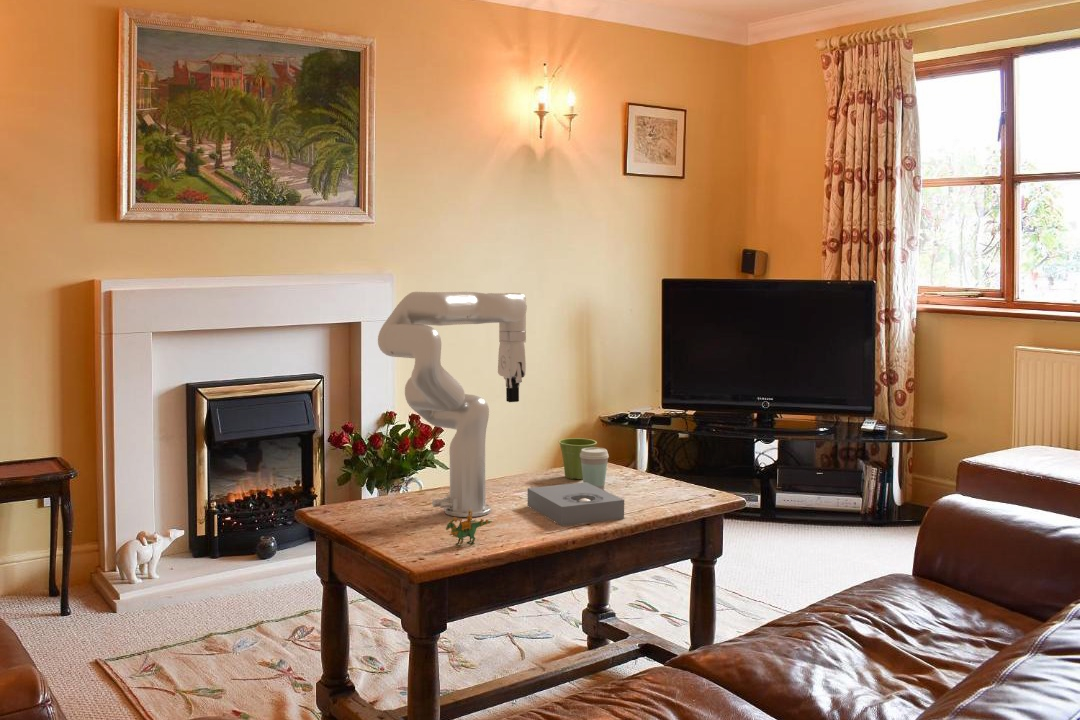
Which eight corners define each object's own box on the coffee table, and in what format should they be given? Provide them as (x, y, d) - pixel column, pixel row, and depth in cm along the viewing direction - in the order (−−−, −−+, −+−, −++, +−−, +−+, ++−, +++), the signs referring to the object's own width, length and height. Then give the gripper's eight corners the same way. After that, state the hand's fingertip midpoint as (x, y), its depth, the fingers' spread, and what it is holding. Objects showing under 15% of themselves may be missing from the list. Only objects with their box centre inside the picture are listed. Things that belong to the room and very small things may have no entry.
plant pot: (585, 483, 303) (585, 446, 302) (551, 478, 309) (551, 442, 308) (603, 475, 314) (603, 440, 312) (569, 471, 319) (569, 436, 318)
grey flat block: (561, 526, 256) (561, 506, 256) (527, 506, 276) (527, 488, 276) (624, 518, 264) (624, 499, 263) (586, 499, 284) (586, 482, 283)
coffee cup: (609, 487, 299) (609, 447, 297) (608, 494, 290) (608, 453, 289) (580, 486, 299) (580, 446, 298) (578, 493, 291) (578, 452, 290)
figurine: (443, 545, 240) (443, 512, 239) (489, 539, 245) (489, 506, 244) (448, 549, 237) (448, 515, 236) (494, 542, 242) (494, 509, 242)
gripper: (490, 335, 289) (490, 398, 291) (510, 339, 275) (510, 406, 277) (514, 334, 292) (514, 397, 294) (535, 338, 278) (535, 404, 280)
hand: (512, 401), depth 286 cm, fingers closed
